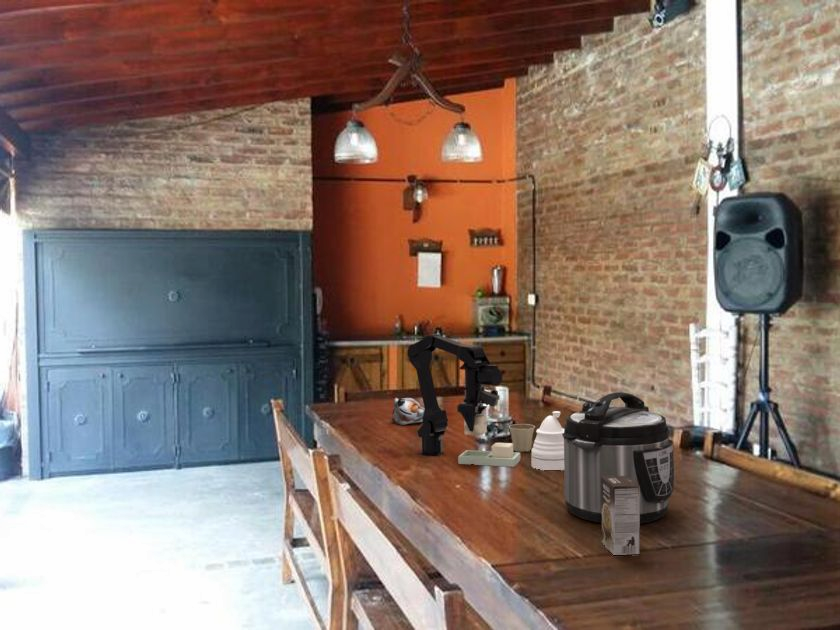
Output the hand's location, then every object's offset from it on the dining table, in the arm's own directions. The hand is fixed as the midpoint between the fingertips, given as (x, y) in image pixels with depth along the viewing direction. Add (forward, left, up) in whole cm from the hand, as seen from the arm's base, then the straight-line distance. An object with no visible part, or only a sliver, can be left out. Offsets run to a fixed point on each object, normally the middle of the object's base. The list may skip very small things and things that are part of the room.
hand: (474, 429), depth 281 cm
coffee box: (+55, -76, -11) cm, 95 cm away
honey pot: (+26, 0, -11) cm, 28 cm away
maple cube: (+1, 0, -1) cm, 1 cm away
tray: (+5, +1, -11) cm, 12 cm away
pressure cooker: (+52, -47, -11) cm, 71 cm away
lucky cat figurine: (-45, +62, -11) cm, 77 cm away
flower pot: (+12, +21, -11) cm, 26 cm away
